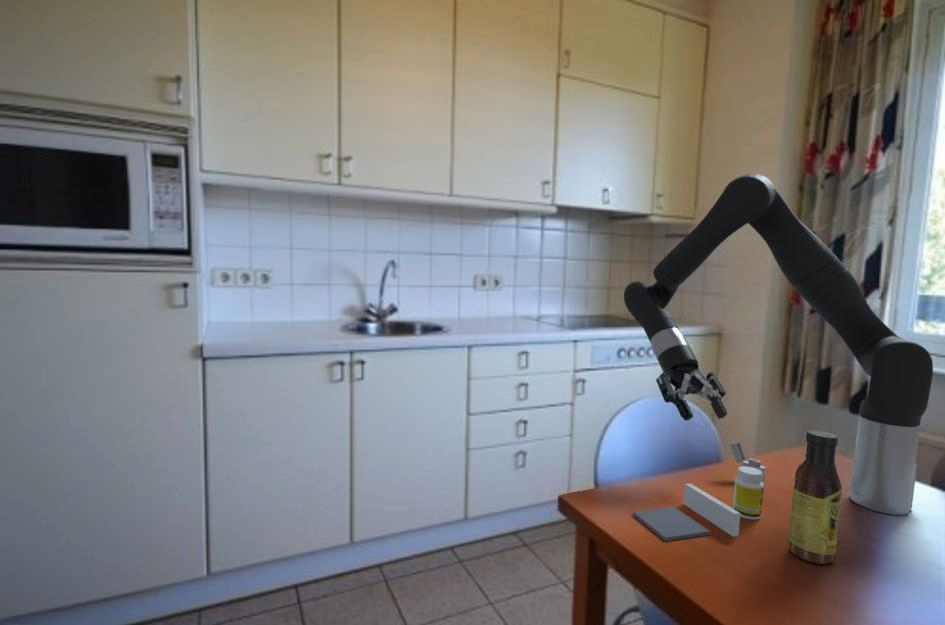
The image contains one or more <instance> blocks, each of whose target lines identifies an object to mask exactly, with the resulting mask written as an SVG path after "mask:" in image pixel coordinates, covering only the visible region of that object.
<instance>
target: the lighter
mask: <svg viewBox="0 0 945 625" xmlns="http://www.w3.org/2000/svg"><path fill="white" fill-rule="evenodd" d="M729 446H730V448H731V450H732V454H733V456H734V460H735V462H736V464H737V463H742V465H741V467H743V466H746V467H752V468H756V469H758V470H760V471H762V473H763V479H762V481H761V482H762V483H763V484H764V485H765V484H766V483H765V481H766V471H767V467H766V466H765V465H762V463H761V461H760V460H758V459H755V458H752V457H751V458H749V459H748V460H747V459H746V458H747V457H746V455H745V453H744V451H743V450H744V449H743V448H742V445H741V442H740V441H734V442H733V441H732V442H730V444H729Z"/></svg>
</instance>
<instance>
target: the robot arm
mask: <svg viewBox="0 0 945 625" xmlns="http://www.w3.org/2000/svg"><path fill="white" fill-rule="evenodd" d="M747 224H749V226H751V228H753V229H754V230H755V232H756V233H757V234H759V236H760V237H761V238H762V239H763V240H764V243H766V245H767V246H768V249H769V250H770V252H771V254H772V256H773V258H774V260H775V261H776V264H777V265H778V267H779V268H780V271H781V272H782V274H783V275H784V277H785V278H786V279H787V281H788V282H789V284H791V286H792V287H793V289H795V290H796V292H797V293H798V295H800V296H801V298H803V299H804V301H805V302H807V304H808V305H809V306H810V307H811V308H812V309H813V310H814V311H815V312H816V313H817V314H818V315H819V316H820V317H821V318H822V319H823V320H824V321H826V323H827V324H828V325H830V326H831V328H833V329H834V331H835V332H836V333H837V334H838V335H839V337H840V338H841V339H842V341H843V342H844V344H846V346H847V348H848V349H849V351H850V352H851V354H852V355H853V356H854V358H855V360H856V361H857V362H858V364H859V366H860V367H861V368H862V370H863V371H864V372H865V373H866V374H867V375H868V376H869V377H870V378H869V385H868V392H867V395H866V398H864V399H863V400H861V401H860V404H859V408H858V409H859V410H858V418H857V419H858V420H857V428H856V429H857V431H856V438H855V446H854V458H853V465H852V466H853V467H852V475H851V483H850V492H849V494H850V495H849V498H850V499H851V501H853V502H854V503H855V504H856V505H859V506H861V507H863V508H866V509H869V510H871V511H875V512H877V513H878V512H879V513H882V514H888V515H892V516H893V515H894V516H906V515H908V514H910V510H911V509H913V501H914V494H915V486H916V476H917V470H918V469H917V468H918V463H917V461H916V460H917V453H918V452H917V450H918V445H919V444H918V443H919V435H920V427H921V420H922V416H923V415H924V414H925V412H926V411H927V408H928V406H929V405H928V404H929V400H930V393H931V386H932V382H933V374H934V366H933V358H932V355H931V354H930V353H929V351H928V350H927V349H926V348H925V347H924V346H923V345H920V343H917V342H914V341H912V340H908V339H903V338H901V337H900V336H898V335H897V334H896V333H895V332H894V331H893V330H892V329H891V328H889V327H888V325H886V324H885V323H884V322H883V321H882V319H880V317H878V316H877V314H876V313H875V312H874V311H873V310H872V308H871V307H870V305H869V303H868V301H867V300H866V298H865V295H864V293H863V291H862V289H861V286H860V285H859V284H858V282H857V280H856V278H855V277H854V276H853V274H852V272H850V270H849V269H848V268H847V266H845V264H843V262H842V261H841V260H840V259H839V258H838V257H837V256H836V254H835V253H834V252H833V251H832V250H831V249H830V248H829V247H828V246H827V245H826V244H825V243H824V242H823V241H822V240H821V239H820V238H819V236H817V235H816V234H815V233H814V232H813V231H812V230H810V229H809V227H807V226H806V225H805V224H804V223H803V222H802V221H801V220H800V219H799V218H798V217H797V216H796V215H795V212H793V211H792V209H791V208H790V207H789V205H788V204H787V202H786V201H785V199H784V198H783V197H782V195H781V194H780V193H779V191H778V189H777V187H776V186H775V185H774V184H773V182H772V181H771V180H770V179H769V178H768V177H766V176H765V175H762V174H759V173H747V174H744V175H742V176H739V177H736V178H734V179H733V180H731V181H730V182H729V183H728V184H727V185H726V187H725V188H724V190H723V191H722V193H721V194H720V196H719V197H718V199H717V200H716V201H715V203H714V204H713V205H712V206H711V209H710V210H709V211H708V212H707V214H706V215H704V217H703V219H702V220H701V221H700V222H698V224H697V226H695V228H694V229H693V230H692V231H691V232H689V233H688V234H687V235H686V236H685V237H684V238H683V239H682V240H680V242H678V244H676V246H674V247H673V248H672V249H671V251H670V252H669V253H667V255H665V256H664V258H663V259H661V260H660V262H659V263H657V265H656V266H655V267H654V269H653V272H652V273H653V277H654V279H655V280H656V281H655V283H653V284H650V283H647V282H644V281H633V282H630V283H629V284H628V285H627V286H626V287H625V289H624V292H623V301H624V305H625V307H626V308H627V311H629V313H630V314H631V316H632V317H633V318H634V319H635V321H636V322H637V323H638V324H639V325H640V326H641V328H642V329H643V330H644V332H645V334H646V337H647V339H648V341H649V343H650V345H651V349H652V352H653V354H654V355H655V357H656V360H657V362H658V364H659V366H660V368H661V370H662V373H661V374H659V376H658V377H656V379H655V381H656V384H657V386H658V388H659V392H660V393H661V396H662V398H663V400H664V402H665V403H666V404H669V403H672V404H673V405H674V406H675V407H676V409H677V411H678V413H679V415H680V417H681V418H682V419H683V421H685V422H686V421H687V422H688V421H690V420H691V419H693V417H694V415H693V412H692V410H691V408H690V406H689V404H688V402H687V399H685V396H686V395H690V394H691V395H697V396H699V397H700V398H704V399H705V400H707V401H708V402H709V403H710V406H711V408H712V410H713V411H714V413H715V415H716V418H717V419H720V420H721V419H724V418H725V417H727V415H728V411H727V408H726V407H725V405H724V403H723V401H722V399H723V398H724V397H725V396H726V395H727V391H726V389H725V388H724V386H723V384H722V383H721V382H720V380H719V378H718V377H717V376H716V373H715V372H714V371H711V370H710V371H709V372H707V373H702V372H701V371H700V368H699V361H698V359H697V357H696V355H695V353H694V352H693V350H692V348H691V347H690V344H689V342H688V340H687V339H686V337H685V336H684V334H683V333H682V332H681V330H680V329H679V328H680V327H678V325H677V322H676V321H675V319H674V317H673V316H672V315H671V314H670V313H669V311H666V310H664V309H665V308H666V307H667V306H668V305H669V303H670V302H671V300H672V299H673V297H674V295H675V293H677V291H678V288H679V287H680V285H682V284H683V283H684V282H685V281H686V280H687V279H688V278H689V277H691V275H692V274H693V273H695V271H697V269H698V268H700V266H701V265H703V263H705V261H706V260H707V259H708V257H709V256H710V255H711V254H712V253H713V252H714V251H715V250H716V249H717V248H718V247H719V246H720V245H721V244H722V243H723V242H724V241H725V240H727V239H728V238H729V237H730V236H732V235H733V234H734V233H735V232H737V231H738V230H740V229H741V228H742V227H744V226H746V225H747ZM673 387H674V388H673ZM703 388H704V390H703ZM711 395H712V396H711Z"/></svg>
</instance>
